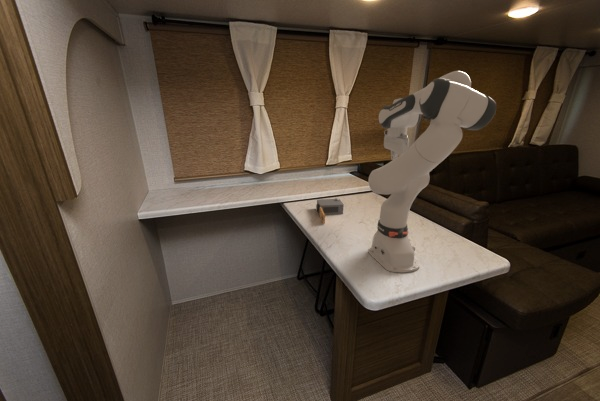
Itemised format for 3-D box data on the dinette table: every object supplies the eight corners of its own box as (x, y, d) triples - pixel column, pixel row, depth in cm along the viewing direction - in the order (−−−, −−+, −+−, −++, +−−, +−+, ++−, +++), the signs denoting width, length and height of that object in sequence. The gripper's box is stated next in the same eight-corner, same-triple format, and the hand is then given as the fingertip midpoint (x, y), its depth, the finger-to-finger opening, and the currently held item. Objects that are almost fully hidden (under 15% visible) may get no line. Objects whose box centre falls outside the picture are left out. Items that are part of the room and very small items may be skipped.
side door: (322, 224, 139) (322, 215, 137) (318, 215, 151) (318, 206, 149) (324, 224, 139) (325, 215, 137) (320, 214, 151) (321, 206, 149)
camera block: (343, 213, 153) (343, 203, 150) (317, 215, 151) (318, 204, 148) (338, 207, 162) (339, 197, 159) (314, 208, 160) (315, 198, 158)
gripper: (414, 135, 119) (409, 164, 125) (394, 130, 138) (390, 155, 143) (401, 135, 119) (397, 164, 124) (382, 130, 138) (380, 156, 143)
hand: (393, 159), depth 134 cm, fingers closed
